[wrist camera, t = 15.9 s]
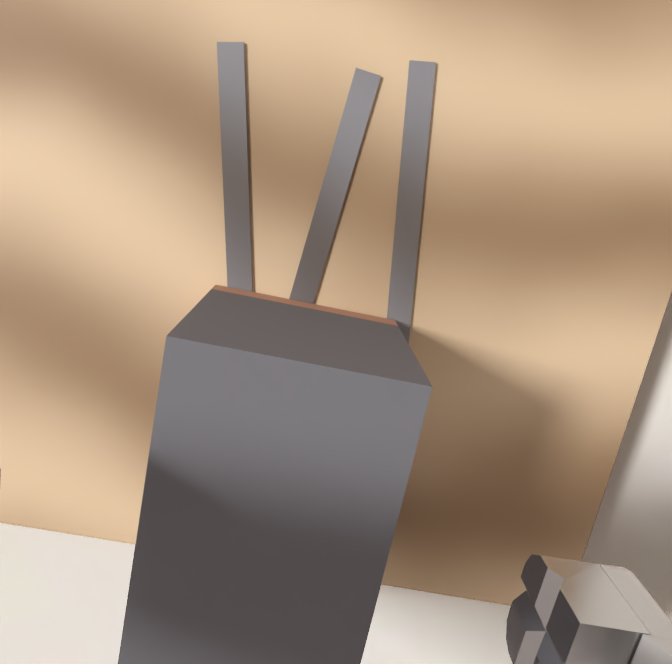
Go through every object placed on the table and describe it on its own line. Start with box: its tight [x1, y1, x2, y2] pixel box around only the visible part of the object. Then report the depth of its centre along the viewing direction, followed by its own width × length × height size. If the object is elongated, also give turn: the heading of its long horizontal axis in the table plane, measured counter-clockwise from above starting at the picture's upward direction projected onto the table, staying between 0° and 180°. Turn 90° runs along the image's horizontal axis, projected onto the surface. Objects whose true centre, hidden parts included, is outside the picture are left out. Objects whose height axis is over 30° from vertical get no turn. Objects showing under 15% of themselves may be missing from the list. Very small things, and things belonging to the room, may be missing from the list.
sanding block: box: [118, 285, 432, 664], centre depth 13 cm, size 7×4×5 cm, turn 168°
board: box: [0, 0, 672, 605], centre depth 15 cm, size 22×18×1 cm
